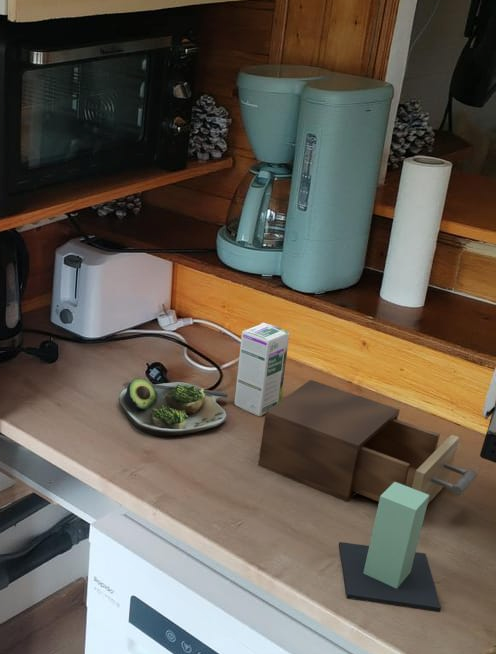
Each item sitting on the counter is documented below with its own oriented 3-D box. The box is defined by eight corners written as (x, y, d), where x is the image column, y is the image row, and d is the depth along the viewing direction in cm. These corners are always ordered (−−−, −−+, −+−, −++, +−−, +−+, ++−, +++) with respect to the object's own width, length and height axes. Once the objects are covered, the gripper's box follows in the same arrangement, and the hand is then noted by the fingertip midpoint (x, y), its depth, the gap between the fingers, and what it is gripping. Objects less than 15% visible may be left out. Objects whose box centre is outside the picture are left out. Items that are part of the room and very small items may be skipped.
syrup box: (260, 417, 154) (271, 340, 148) (232, 404, 159) (241, 329, 152) (280, 407, 158) (291, 331, 151) (252, 395, 162) (262, 320, 155)
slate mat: (424, 556, 121) (425, 553, 120) (440, 611, 111) (441, 607, 111) (338, 545, 123) (339, 541, 123) (346, 598, 113) (347, 594, 113)
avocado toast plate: (207, 382, 166) (210, 359, 164) (252, 430, 151) (255, 405, 149) (107, 393, 162) (108, 370, 160) (142, 443, 147) (144, 418, 145)
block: (410, 572, 117) (429, 495, 111) (396, 588, 114) (416, 510, 109) (377, 557, 119) (394, 481, 114) (363, 573, 117) (380, 495, 111)
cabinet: (388, 463, 142) (399, 409, 137) (347, 502, 132) (358, 445, 128) (301, 430, 151) (310, 379, 146) (257, 465, 141) (265, 411, 137)
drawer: (478, 493, 133) (490, 447, 129) (444, 533, 124) (457, 485, 120) (361, 449, 144) (369, 406, 140) (322, 483, 135) (330, 438, 131)
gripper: (546, 363, 107) (505, 492, 115) (579, 327, 117) (539, 449, 125) (480, 344, 112) (445, 469, 120) (517, 311, 121) (483, 429, 130)
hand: (493, 458), depth 122 cm, fingers closed
